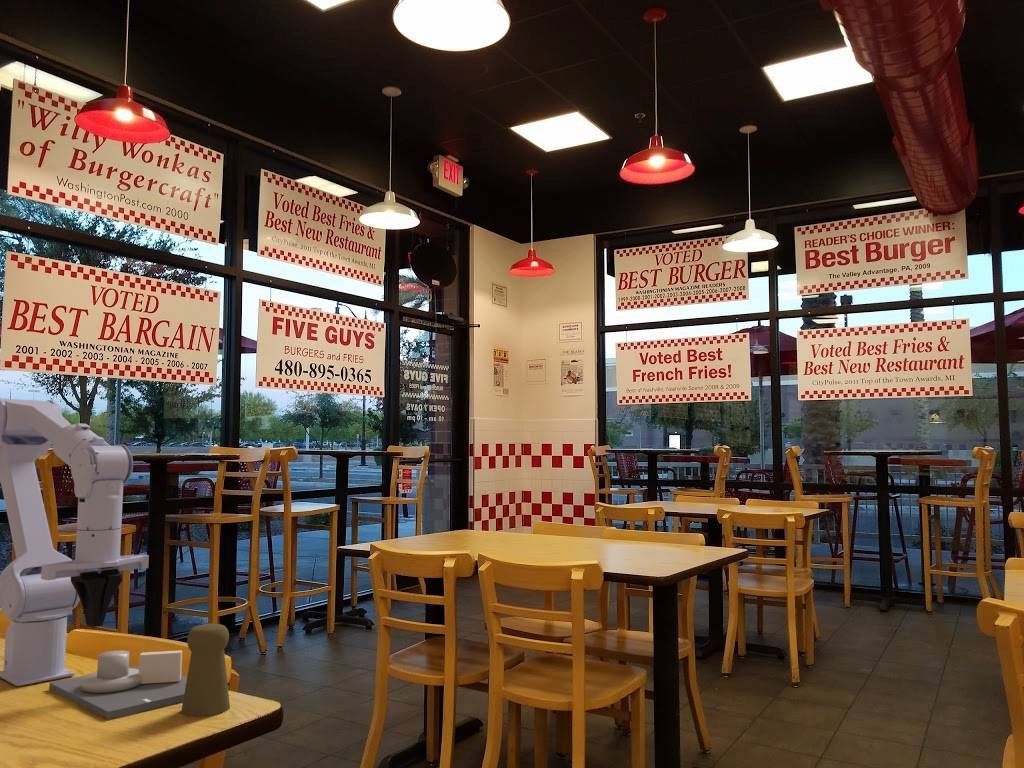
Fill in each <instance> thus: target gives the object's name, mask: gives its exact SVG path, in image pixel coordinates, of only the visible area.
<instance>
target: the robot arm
mask: <svg viewBox="0 0 1024 768" xmlns="http://www.w3.org/2000/svg"><path fill="white" fill-rule="evenodd" d="M62 410H63V409H62V405H60V404H58V403H57V402H56V401H55V400H51V399H50V400H49V399H48V400H36V399H35V400H32V399H20V398H19V399H17V398H2V397H0V485H1V490H2V494H3V495H2V496H3V500H4V504H5V505H4V506H5V510H6V514H7V519H8V524H9V529H10V533H11V538H12V543H13V549H14V553H15V559H14V560H12V561H11V562H10V563H9V564H8V565H7V566H6V567H5V568H4V569H3V570H2V572H1V574H0V610H1V612H2V614H3V615H4V616H5V617H6V618H7V620H10V621H11V622H10V624H9V625H8V627H7V629H6V631H5V636H4V637H5V638H4V654H3V655H4V656H3V657H4V658H3V670H1V671H0V678H1V679H2V680H4V681H6V682H8V683H10V684H12V685H14V686H16V687H20V686H26V685H33V684H36V683H43V682H47V681H53V680H58V679H62V678H68V677H73V676H74V675H76V673H75V671H74V670H70V669H69V668H66V667H65V664H66V645H67V629H68V628H67V627H68V625H67V624H68V616H71V615H73V610H74V609H76V607H77V606H78V604H79V602H80V604H81V606H82V609H83V615H84V619H85V625H86V626H87V627H92V628H94V627H101V626H104V622H105V619H106V615H107V612H108V610H109V607H110V605H111V602H112V599H113V597H114V595H115V593H116V592H117V590H118V588H119V586H120V585H121V584H122V582H123V578H124V574H123V573H120V572H122V571H128V570H138V569H140V570H143V569H144V570H145V569H149V563H150V562H149V557H150V556H149V555H148V554H143V553H142V554H132V555H130V554H129V555H121V542H122V541H121V539H122V523H123V522H122V520H123V518H122V516H123V497H124V484H127V482H128V481H129V480H130V479H131V476H132V474H133V468H134V459H133V455H132V452H131V451H130V449H129V448H128V447H127V446H126V445H125V444H115V445H110V444H109V443H108V442H106V441H105V438H104V437H102V436H99V435H98V434H96V433H95V432H93V431H92V430H90V428H91V426H90V425H88V424H87V423H80V422H79V423H77V422H76V423H74V424H71V423H70V422H69V421H68V420H67V419H66V418H65V416H63V411H62ZM51 447H52V450H53V452H54V455H56V456H57V458H58V459H60V460H61V461H63V462H64V463H65V464H66V465H67V466H68V467H70V473H71V476H72V480H73V483H74V485H73V486H74V495H75V497H76V498H77V499H78V500H77V520H76V540H75V556H74V557H75V559H74V560H73V559H72V558H70V557H68V556H67V555H65V554H63V553H61V552H60V551H58V550H56V549H55V548H54V545H53V540H52V537H51V536H52V535H51V532H50V527H49V522H48V519H47V513H46V509H45V505H44V500H43V496H42V492H41V486H40V483H39V478H38V474H37V469H36V464H35V462H36V460H37V459H39V458H41V457H43V456H45V455H47V453H48V452H49V450H50V448H51ZM89 569H90V570H89Z"/></svg>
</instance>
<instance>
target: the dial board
mask: <svg viewBox="0 0 1024 768" xmlns="http://www.w3.org/2000/svg"><path fill="white" fill-rule="evenodd" d="M129 668H133V669H139V664H138V665H133V666H129ZM83 676H84V675H82V676H77V677H71V678H66V679H61V680H55V681H50V682H49V686H48V687H49V688H48V690H49V691H51V692H53V693H54V694H57V695H59V696H60V697H62V698H64V699H66V700H68V701H70V702H72V703H74V704H76V705H78V706H79V707H81V708H83V709H86V710H88V711H89V712H92V713H94V714H95V715H97V716H100V717H102V718H103V719H106V720H107V721H108V720H109V721H110V720H114V719H117V718H122V717H125V716H130V715H134V714H139V713H143V712H146V711H151V710H155V709H159V708H163V707H168V706H172V705H176V704H180V703H183V699H184V693H185V687H186V681H187V675H183V674H181V680H180V681H177V682H162V683H147V684H140V685H139V686H136V687H133V688H130V689H126V690H121V691H115V692H104V693H92V692H85V691H82V690H81V689H80V687H81V678H82V677H83Z"/></svg>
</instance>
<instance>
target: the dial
mask: <svg viewBox="0 0 1024 768" xmlns="http://www.w3.org/2000/svg"><path fill="white" fill-rule="evenodd" d="M138 658H139V659H138V665H139V669H133V668H129V667H130V651H128V650H110V651H105V652H101V653H99V654H98V655H97V671H94V672H90V673H88V674H85V675H82V676H83V677H82V678H81V687H80V689H81V690H82V691H85V692H92V693H104V692H115V691H121V690H126V689H130V688H133V687H136V686H139V685H140V684H147V683H162V682H177V681H180V680H181V675H182V669H183V668H182V667H183V666H182V665H183V650H181V649H180V650H166V651H165V650H163V651H147V652H141V653H140V654H139V656H138Z"/></svg>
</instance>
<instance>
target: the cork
mask: <svg viewBox="0 0 1024 768" xmlns="http://www.w3.org/2000/svg"><path fill="white" fill-rule="evenodd" d="M186 639H187V641H186V642H187V644H186V645H187V647H188V649H189V650H190V652H191V653H190V658H189V665H188V669H187V675H186V677H187V681H186V687H185V693H184V699H183V702H182V706H181V711H180V714H181V715H182V716H185V717H190V718H207V717H213V716H217V715H221V713H222V714H224V713H226V712H228V711H229V710H230V708H231V703H230V694H229V687H228V676H227V666H226V657H225V656H226V655H225V649H226V648H227V646H228V643H229V640H230V633H229V629H228V628H227V627H226V626H225V625H223V624H218V623H204V624H200V625H196V626H193V627H192V628H191V629H190V631H189V632H188V635H187V638H186ZM228 709H229V710H228ZM227 710H228V711H227ZM225 711H226V712H225ZM223 712H224V713H223Z"/></svg>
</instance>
